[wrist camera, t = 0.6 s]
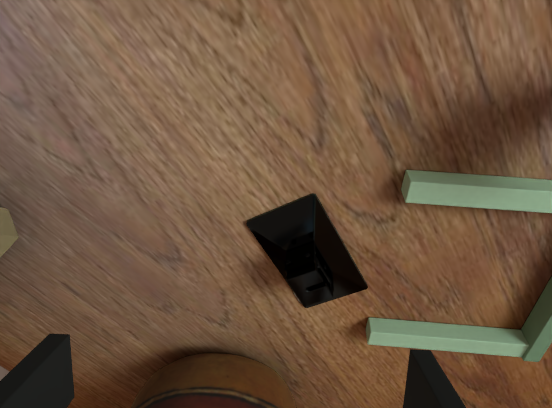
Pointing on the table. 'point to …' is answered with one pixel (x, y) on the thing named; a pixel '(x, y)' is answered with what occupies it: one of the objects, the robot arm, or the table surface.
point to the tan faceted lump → (6, 231)
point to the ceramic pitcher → (215, 384)
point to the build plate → (307, 251)
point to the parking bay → (462, 338)
